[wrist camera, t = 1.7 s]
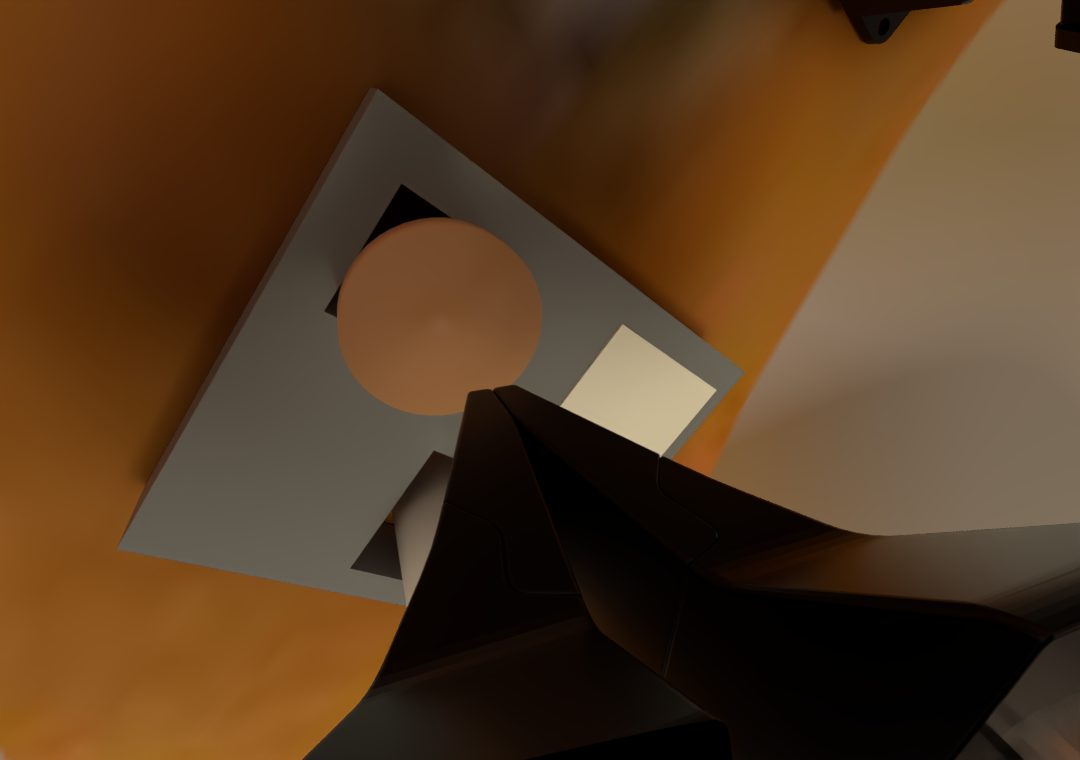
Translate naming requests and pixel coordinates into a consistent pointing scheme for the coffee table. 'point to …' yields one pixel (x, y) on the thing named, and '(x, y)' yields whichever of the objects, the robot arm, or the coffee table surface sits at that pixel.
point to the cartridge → (420, 518)
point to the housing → (363, 420)
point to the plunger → (437, 315)
